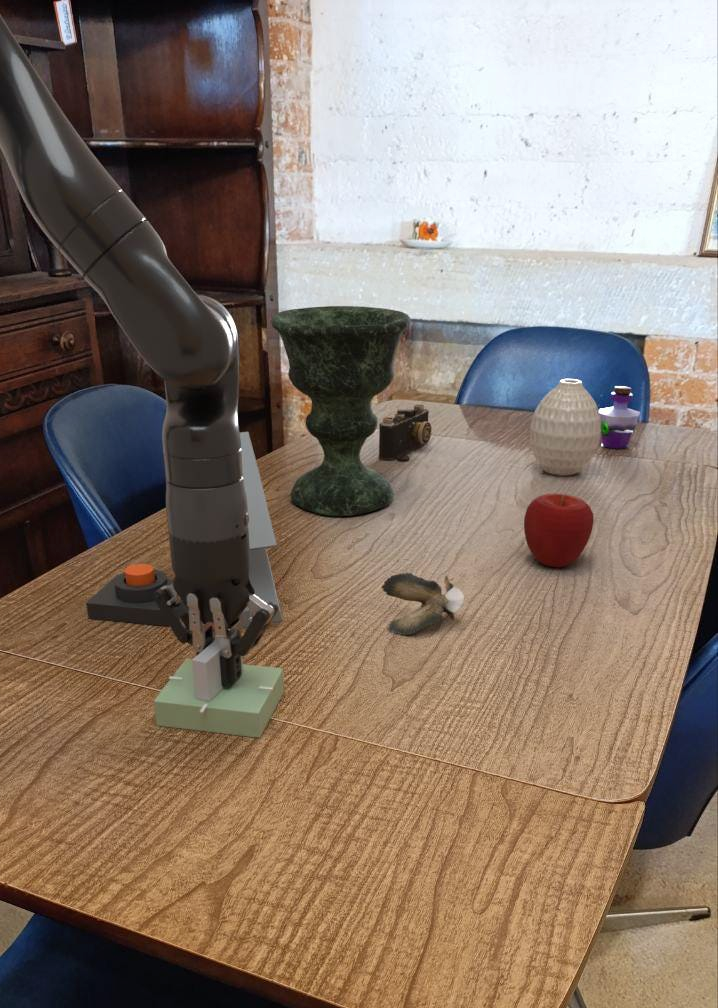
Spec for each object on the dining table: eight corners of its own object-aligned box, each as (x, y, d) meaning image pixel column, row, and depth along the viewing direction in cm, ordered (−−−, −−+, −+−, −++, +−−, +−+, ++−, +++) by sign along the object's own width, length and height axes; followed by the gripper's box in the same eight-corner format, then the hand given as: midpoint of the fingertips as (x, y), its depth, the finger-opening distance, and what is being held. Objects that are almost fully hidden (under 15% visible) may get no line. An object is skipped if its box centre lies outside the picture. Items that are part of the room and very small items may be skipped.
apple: (589, 578, 122) (598, 509, 117) (519, 572, 124) (526, 505, 119) (586, 552, 130) (594, 487, 126) (521, 547, 132) (527, 483, 127)
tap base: (151, 731, 88) (147, 705, 87) (191, 676, 98) (188, 651, 96) (257, 744, 86) (255, 717, 85) (288, 687, 96) (286, 662, 95)
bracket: (215, 675, 123) (238, 601, 100) (174, 508, 131) (186, 406, 108) (271, 664, 125) (305, 590, 103) (227, 501, 133) (250, 400, 111)
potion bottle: (585, 446, 181) (593, 387, 175) (605, 437, 186) (612, 380, 181) (624, 454, 176) (633, 393, 170) (643, 445, 181) (652, 386, 176)
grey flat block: (209, 701, 88) (205, 660, 85) (195, 698, 88) (191, 657, 86) (243, 669, 93) (241, 630, 91) (230, 666, 94) (227, 627, 92)
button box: (88, 618, 110) (83, 589, 109) (119, 589, 118) (115, 561, 116) (170, 626, 109) (167, 597, 107) (196, 596, 116) (194, 568, 114)
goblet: (258, 514, 144) (248, 322, 130) (302, 474, 163) (298, 303, 149) (388, 527, 139) (392, 329, 125) (418, 484, 158) (424, 308, 144)
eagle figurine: (433, 593, 115) (372, 593, 111) (458, 560, 109) (395, 560, 105) (451, 642, 111) (389, 644, 107) (478, 612, 106) (413, 613, 102)
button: (121, 586, 110) (119, 573, 110) (133, 575, 114) (131, 562, 113) (148, 588, 110) (146, 576, 109) (159, 577, 113) (158, 564, 112)
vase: (602, 466, 168) (615, 378, 160) (585, 485, 158) (597, 391, 150) (537, 457, 173) (546, 371, 165) (517, 475, 163) (525, 383, 155)
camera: (403, 464, 169) (404, 422, 165) (373, 458, 172) (374, 418, 168) (442, 444, 181) (444, 405, 178) (414, 439, 185) (415, 401, 181)
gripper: (123, 526, 82) (143, 686, 90) (253, 547, 77) (262, 714, 85) (168, 502, 88) (183, 653, 96) (291, 520, 83) (296, 678, 91)
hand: (220, 681), depth 91 cm, fingers closed on grey flat block
